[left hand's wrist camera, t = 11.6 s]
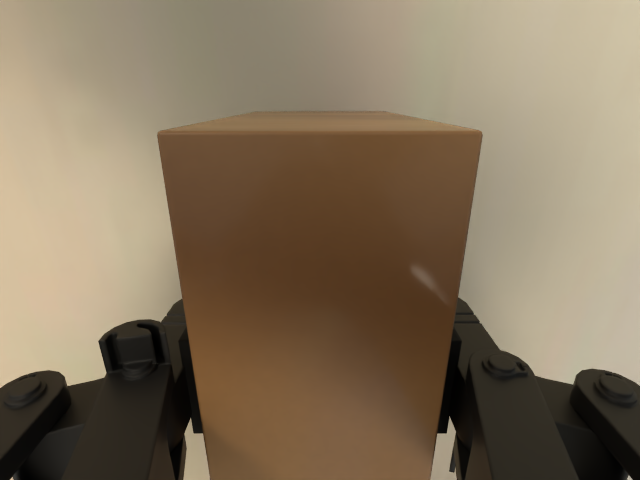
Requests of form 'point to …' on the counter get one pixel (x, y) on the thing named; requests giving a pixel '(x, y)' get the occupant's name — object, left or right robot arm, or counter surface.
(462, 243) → the post
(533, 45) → the counter surface
